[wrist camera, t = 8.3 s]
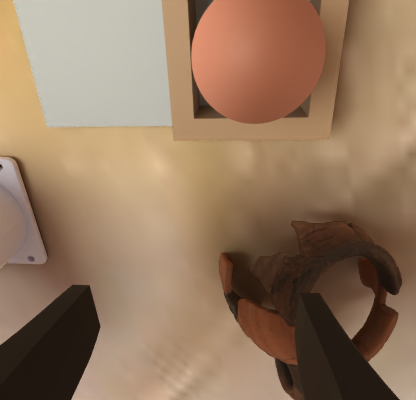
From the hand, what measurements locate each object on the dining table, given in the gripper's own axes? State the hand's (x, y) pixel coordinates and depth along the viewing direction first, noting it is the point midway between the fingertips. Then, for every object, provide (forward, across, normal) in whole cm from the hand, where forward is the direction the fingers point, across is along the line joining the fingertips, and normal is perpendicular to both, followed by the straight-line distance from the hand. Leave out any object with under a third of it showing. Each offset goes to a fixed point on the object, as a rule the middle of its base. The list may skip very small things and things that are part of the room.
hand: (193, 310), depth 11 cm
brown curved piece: (+10, -5, +7) cm, 13 cm away
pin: (+9, -2, -8) cm, 12 cm away
